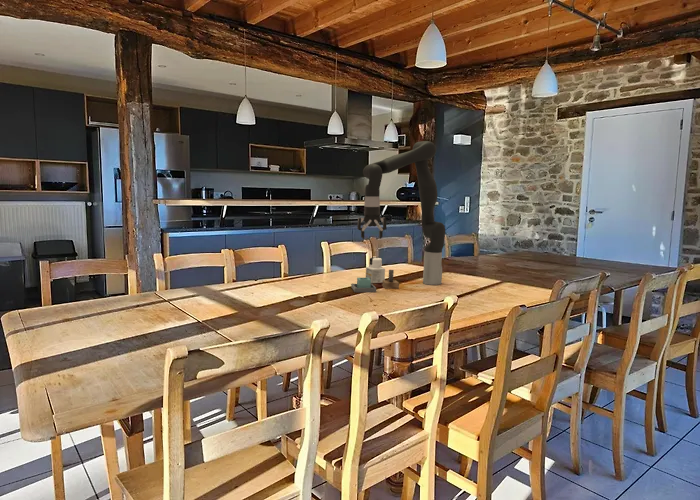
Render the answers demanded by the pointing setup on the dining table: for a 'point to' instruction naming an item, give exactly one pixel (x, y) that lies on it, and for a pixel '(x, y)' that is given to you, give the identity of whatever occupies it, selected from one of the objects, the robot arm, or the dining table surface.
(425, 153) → the robot arm
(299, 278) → the dining table surface
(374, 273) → the container
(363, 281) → the teal collar
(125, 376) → the dining table surface
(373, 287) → the charcoal tray
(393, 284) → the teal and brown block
